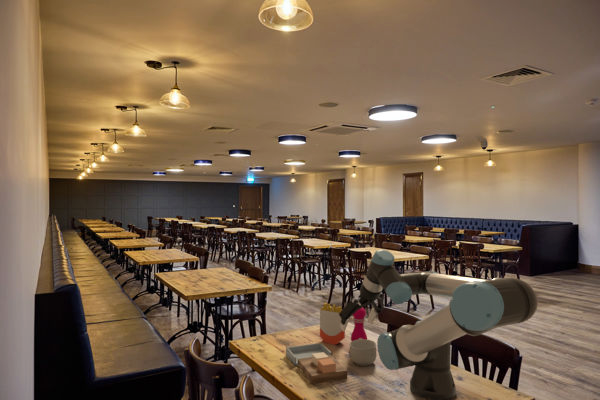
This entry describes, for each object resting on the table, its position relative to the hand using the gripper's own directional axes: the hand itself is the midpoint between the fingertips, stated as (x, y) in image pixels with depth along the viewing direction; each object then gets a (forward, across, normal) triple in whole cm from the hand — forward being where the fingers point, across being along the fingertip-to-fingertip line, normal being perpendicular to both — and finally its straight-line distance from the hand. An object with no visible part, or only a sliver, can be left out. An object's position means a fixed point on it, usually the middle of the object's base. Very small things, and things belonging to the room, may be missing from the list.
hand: (356, 325), depth 161 cm
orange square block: (+8, +17, +10) cm, 21 cm away
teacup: (+15, -4, +7) cm, 17 cm away
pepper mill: (+21, -11, -3) cm, 24 cm away
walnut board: (+13, +17, +7) cm, 22 cm away
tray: (+21, +14, -5) cm, 26 cm away
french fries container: (+28, -4, -13) cm, 31 cm away
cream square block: (+11, +16, +4) cm, 20 cm away
